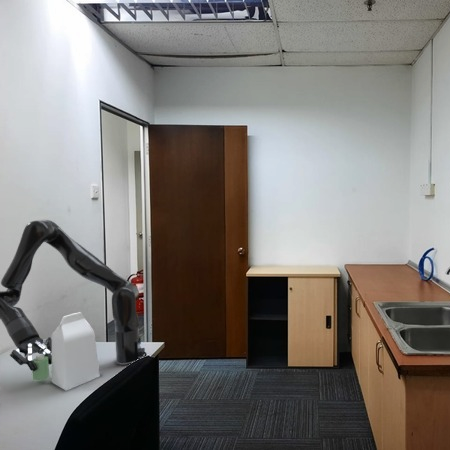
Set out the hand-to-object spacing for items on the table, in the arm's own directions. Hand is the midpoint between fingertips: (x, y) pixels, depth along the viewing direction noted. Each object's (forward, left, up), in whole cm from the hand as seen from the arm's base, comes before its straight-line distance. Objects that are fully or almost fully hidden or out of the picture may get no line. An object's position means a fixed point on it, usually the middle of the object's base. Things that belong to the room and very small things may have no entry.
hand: (43, 366), depth 128 cm
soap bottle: (+2, -1, -5) cm, 5 cm away
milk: (-11, 0, -7) cm, 13 cm away
